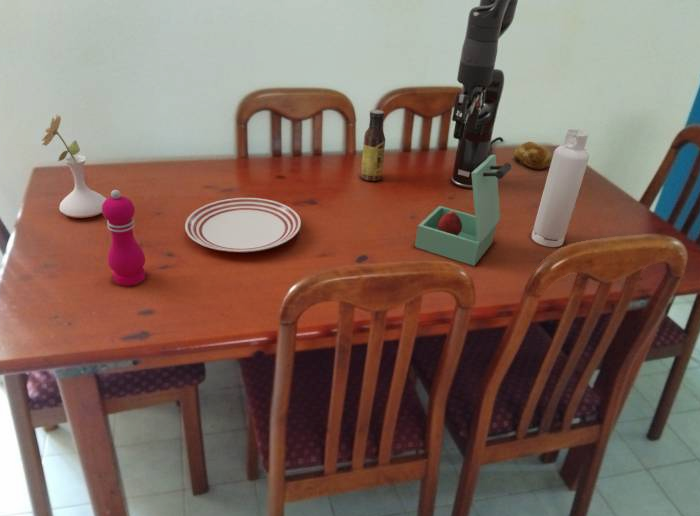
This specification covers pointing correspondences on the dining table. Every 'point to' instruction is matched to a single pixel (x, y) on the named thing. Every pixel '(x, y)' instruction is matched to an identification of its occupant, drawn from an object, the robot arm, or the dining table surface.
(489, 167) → the box lid
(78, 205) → the flower in vase
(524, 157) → the bread roll
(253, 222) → the dinner plate
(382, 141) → the sauce bottle
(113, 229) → the pepper mill
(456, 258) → the teal open box
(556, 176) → the bottle
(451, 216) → the onion
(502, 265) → the dining table surface
